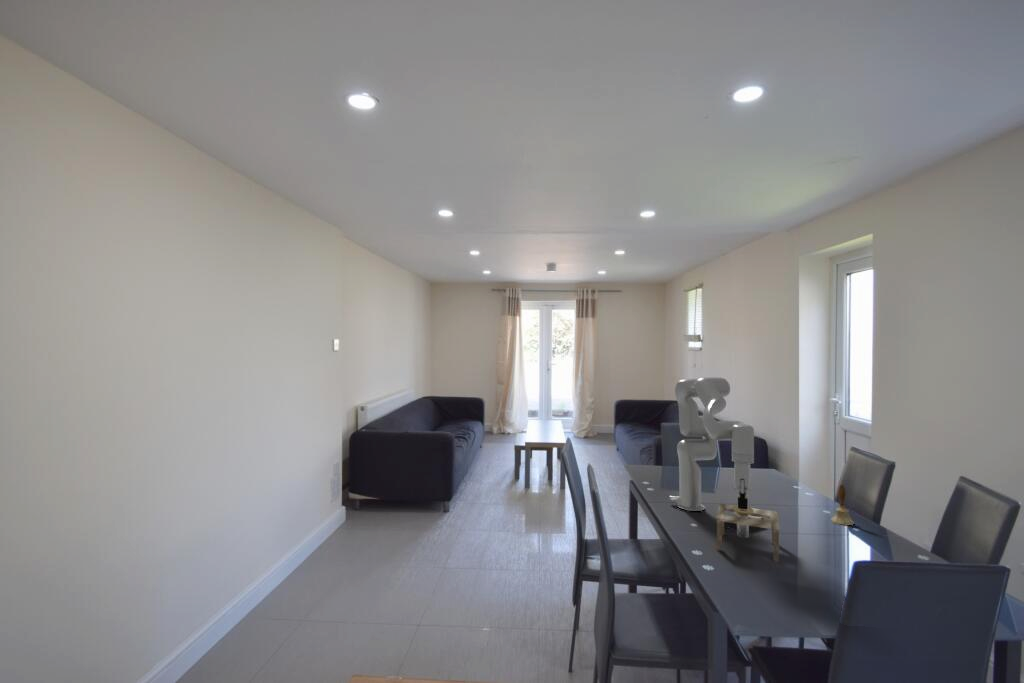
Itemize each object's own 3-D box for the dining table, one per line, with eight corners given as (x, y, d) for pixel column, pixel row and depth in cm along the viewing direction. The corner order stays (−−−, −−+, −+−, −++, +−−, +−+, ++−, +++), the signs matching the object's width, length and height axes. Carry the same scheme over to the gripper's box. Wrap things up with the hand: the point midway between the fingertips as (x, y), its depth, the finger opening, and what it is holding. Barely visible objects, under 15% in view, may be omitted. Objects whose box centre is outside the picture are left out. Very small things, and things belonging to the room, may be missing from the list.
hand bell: (829, 522, 198) (829, 484, 198) (832, 517, 204) (832, 481, 204) (853, 527, 192) (852, 488, 192) (855, 522, 198) (855, 484, 198)
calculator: (718, 516, 194) (739, 508, 202) (718, 526, 194) (740, 518, 202) (742, 525, 185) (764, 516, 193) (743, 535, 185) (764, 526, 193)
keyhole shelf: (716, 550, 168) (716, 517, 169) (719, 533, 184) (719, 503, 185) (779, 562, 159) (779, 527, 159) (777, 543, 175) (777, 511, 175)
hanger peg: (732, 536, 171) (732, 493, 171) (732, 530, 177) (732, 488, 178) (753, 540, 168) (753, 496, 168) (753, 534, 174) (753, 491, 174)
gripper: (732, 452, 182) (732, 499, 182) (730, 461, 168) (730, 512, 167) (754, 454, 179) (754, 502, 178) (753, 463, 164) (754, 515, 164)
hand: (742, 506), depth 173 cm, fingers closed on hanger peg, 3 cm apart
